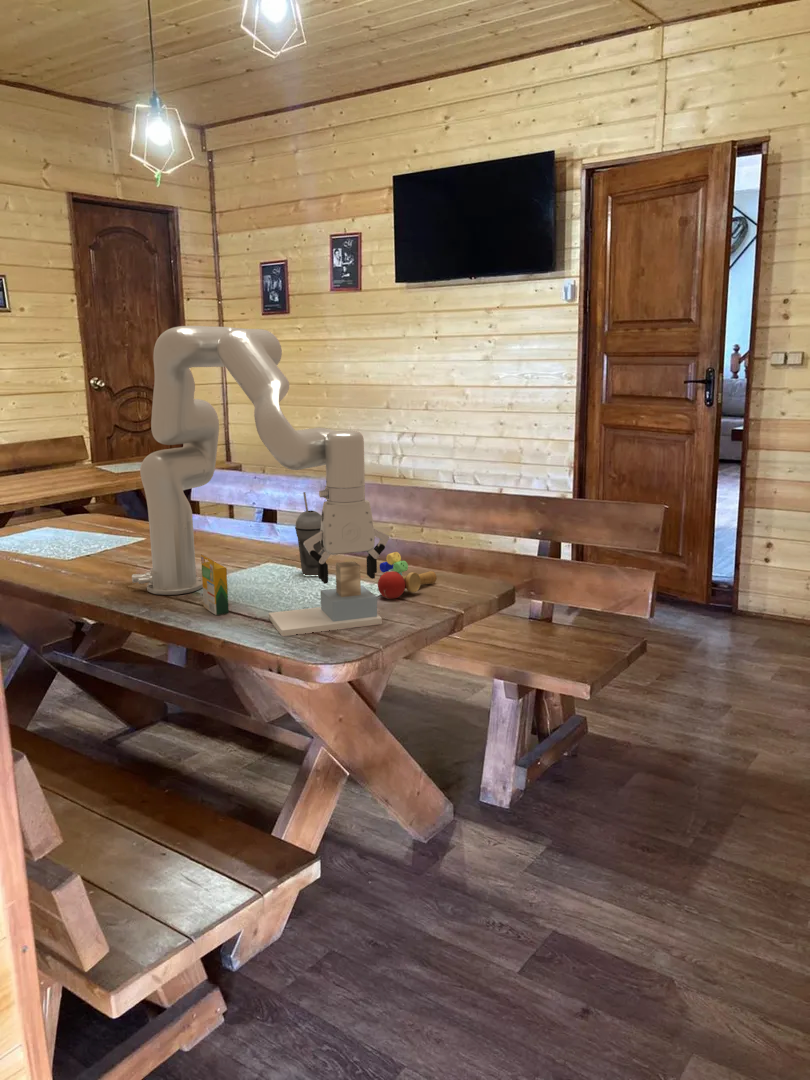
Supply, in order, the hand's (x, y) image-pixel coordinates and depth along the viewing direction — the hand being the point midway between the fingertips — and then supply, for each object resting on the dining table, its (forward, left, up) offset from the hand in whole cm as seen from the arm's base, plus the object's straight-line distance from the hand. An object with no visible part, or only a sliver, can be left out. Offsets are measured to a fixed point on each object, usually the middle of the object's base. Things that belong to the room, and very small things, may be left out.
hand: (347, 579), depth 174 cm
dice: (+19, +26, -8) cm, 33 cm away
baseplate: (-5, 0, -8) cm, 10 cm away
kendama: (+18, +14, -9) cm, 25 cm away
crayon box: (-24, +16, -8) cm, 30 cm away
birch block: (0, 0, -3) cm, 3 cm away
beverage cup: (+2, +37, -8) cm, 38 cm away
